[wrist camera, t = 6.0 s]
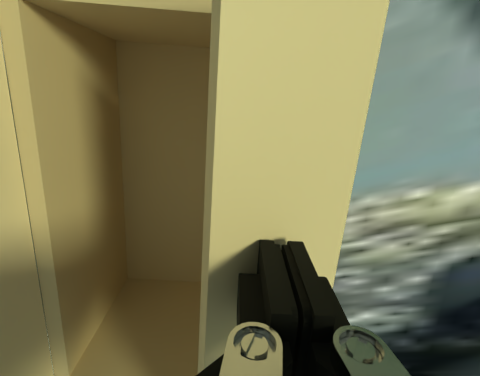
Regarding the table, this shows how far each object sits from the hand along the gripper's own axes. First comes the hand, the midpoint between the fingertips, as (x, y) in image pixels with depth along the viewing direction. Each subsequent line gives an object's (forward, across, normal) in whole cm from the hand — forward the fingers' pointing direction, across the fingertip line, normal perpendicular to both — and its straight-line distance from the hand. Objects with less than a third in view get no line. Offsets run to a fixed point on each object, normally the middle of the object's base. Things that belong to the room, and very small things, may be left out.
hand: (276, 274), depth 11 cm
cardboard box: (+13, +4, 0) cm, 13 cm away
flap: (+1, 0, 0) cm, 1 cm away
